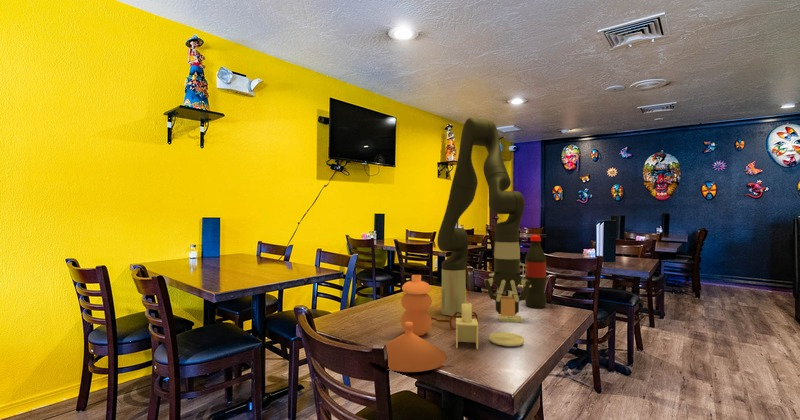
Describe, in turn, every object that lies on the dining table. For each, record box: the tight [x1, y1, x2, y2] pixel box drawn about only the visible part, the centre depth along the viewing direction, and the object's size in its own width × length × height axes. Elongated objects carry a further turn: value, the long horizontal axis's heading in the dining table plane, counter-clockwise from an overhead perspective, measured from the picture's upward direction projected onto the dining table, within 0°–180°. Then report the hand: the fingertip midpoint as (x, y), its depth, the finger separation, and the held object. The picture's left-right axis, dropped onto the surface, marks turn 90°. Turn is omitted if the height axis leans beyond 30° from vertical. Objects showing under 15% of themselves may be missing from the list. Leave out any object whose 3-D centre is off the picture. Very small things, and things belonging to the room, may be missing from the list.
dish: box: [489, 331, 525, 347], centre depth 115 cm, size 10×10×2 cm
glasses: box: [431, 311, 479, 331], centre depth 135 cm, size 13×13×5 cm
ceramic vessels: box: [382, 274, 448, 373], centre depth 111 cm, size 35×21×19 cm, turn 172°
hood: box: [455, 302, 479, 350], centre depth 112 cm, size 6×6×12 cm
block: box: [500, 295, 515, 316], centre depth 115 cm, size 4×4×5 cm
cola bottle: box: [524, 234, 547, 309], centre depth 159 cm, size 8×8×30 cm
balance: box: [488, 262, 531, 323], centre depth 139 cm, size 15×6×24 cm, turn 82°
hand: (507, 313), depth 115 cm, fingers closed on block, 4 cm apart
